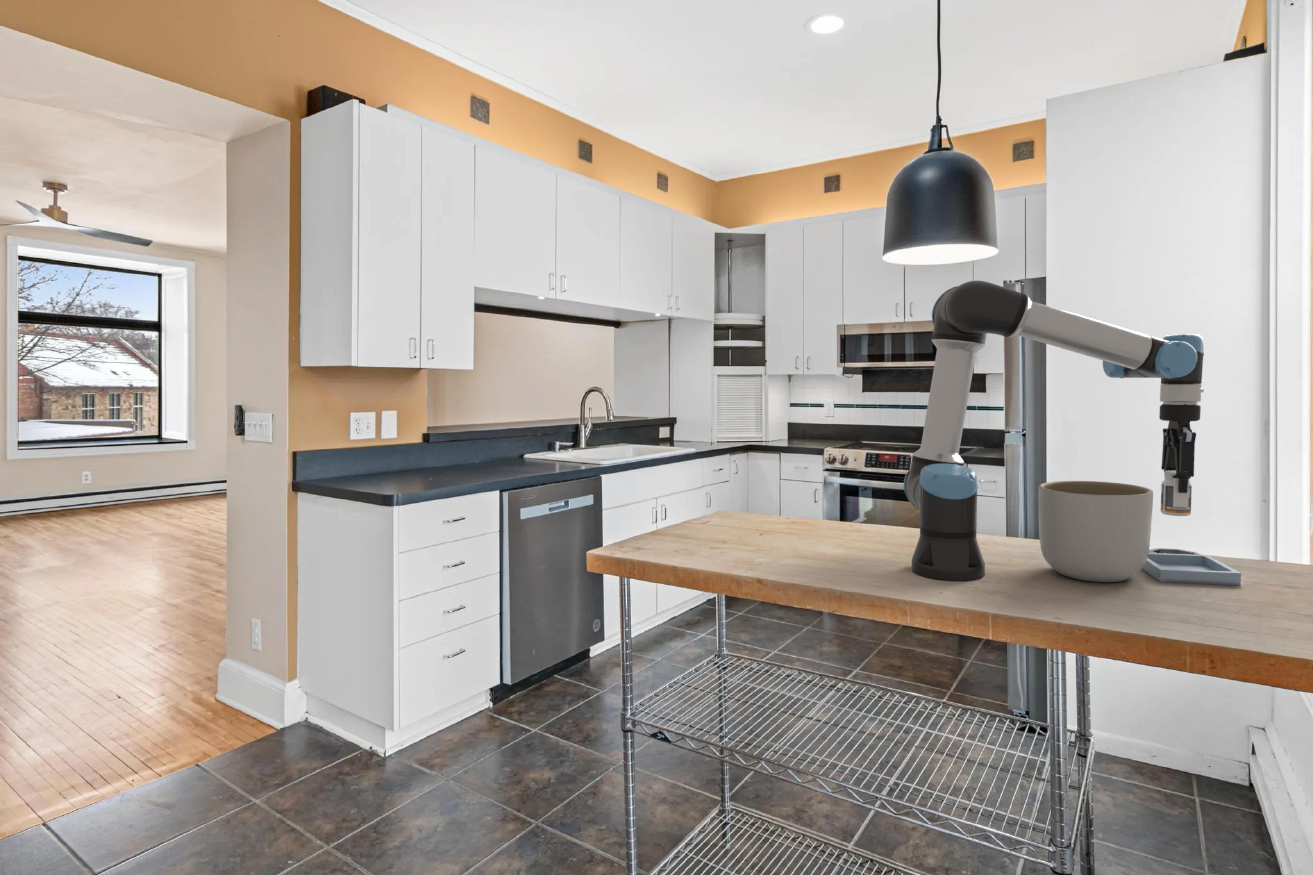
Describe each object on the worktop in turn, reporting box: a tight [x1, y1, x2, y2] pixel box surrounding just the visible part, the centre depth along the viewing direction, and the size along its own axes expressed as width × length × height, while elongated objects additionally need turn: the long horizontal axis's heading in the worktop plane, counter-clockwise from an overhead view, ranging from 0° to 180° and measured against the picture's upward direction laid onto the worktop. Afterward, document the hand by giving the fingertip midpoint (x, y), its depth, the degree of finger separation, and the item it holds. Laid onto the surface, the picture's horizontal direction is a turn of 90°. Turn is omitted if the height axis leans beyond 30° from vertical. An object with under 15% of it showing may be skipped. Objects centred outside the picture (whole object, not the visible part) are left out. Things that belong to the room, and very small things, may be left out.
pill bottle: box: [1160, 470, 1193, 517], centre depth 165 cm, size 6×6×10 cm
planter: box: [1038, 480, 1154, 583], centre depth 154 cm, size 21×21×19 cm
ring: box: [1148, 547, 1201, 555], centre depth 167 cm, size 10×10×1 cm
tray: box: [1141, 553, 1242, 586], centre depth 154 cm, size 14×15×2 cm
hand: (1175, 504), depth 166 cm, fingers closed on pill bottle, 6 cm apart
